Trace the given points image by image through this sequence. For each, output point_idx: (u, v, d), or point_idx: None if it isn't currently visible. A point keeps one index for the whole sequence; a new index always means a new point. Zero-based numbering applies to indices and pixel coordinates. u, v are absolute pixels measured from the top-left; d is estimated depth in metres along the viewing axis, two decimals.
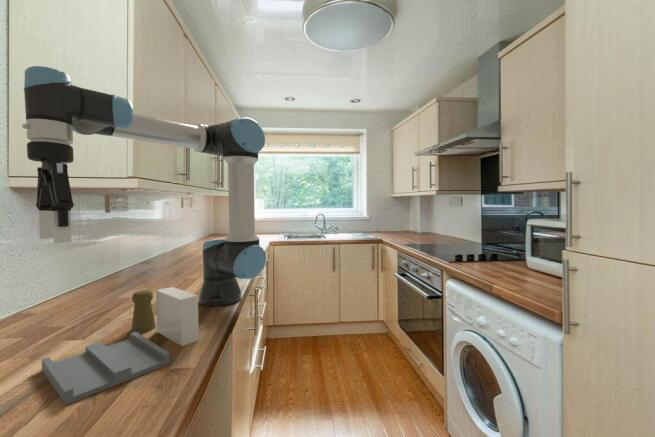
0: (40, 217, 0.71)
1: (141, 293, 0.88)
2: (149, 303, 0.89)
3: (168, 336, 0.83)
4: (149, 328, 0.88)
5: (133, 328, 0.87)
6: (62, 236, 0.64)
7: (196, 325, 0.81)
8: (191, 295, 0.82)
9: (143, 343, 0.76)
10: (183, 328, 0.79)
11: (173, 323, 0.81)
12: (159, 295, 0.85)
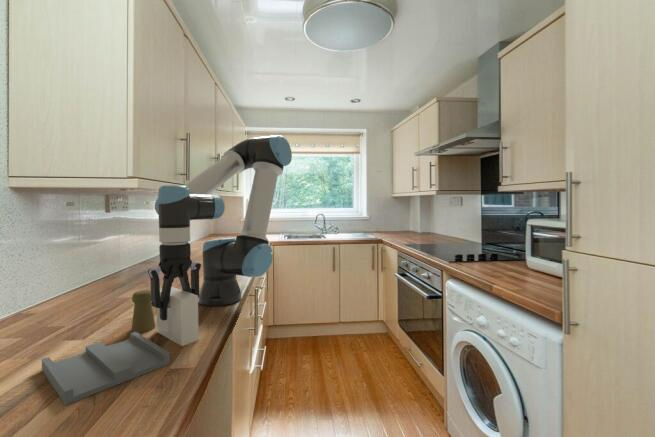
0: None
1: (141, 293, 0.88)
2: (149, 303, 0.89)
3: (168, 336, 0.83)
4: (149, 328, 0.88)
5: (133, 328, 0.87)
6: (165, 326, 0.82)
7: (196, 325, 0.81)
8: (191, 295, 0.82)
9: (143, 343, 0.76)
10: (183, 328, 0.79)
11: (173, 323, 0.81)
12: None
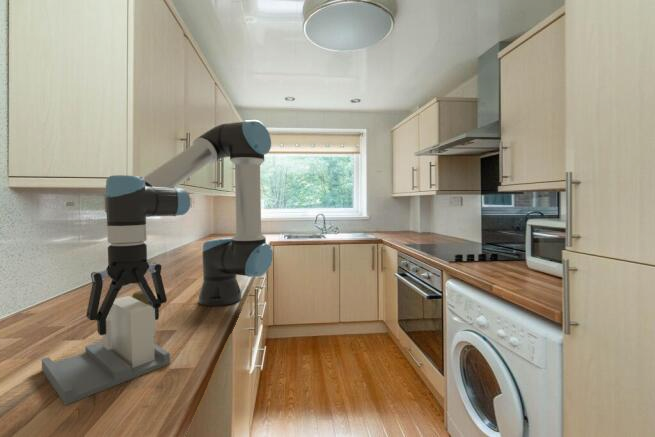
0: None
1: (141, 293, 0.88)
2: (149, 303, 0.89)
3: (119, 355, 0.71)
4: None
5: None
6: (105, 342, 0.68)
7: (151, 342, 0.69)
8: (145, 307, 0.69)
9: None
10: (134, 346, 0.66)
11: (124, 340, 0.68)
12: None
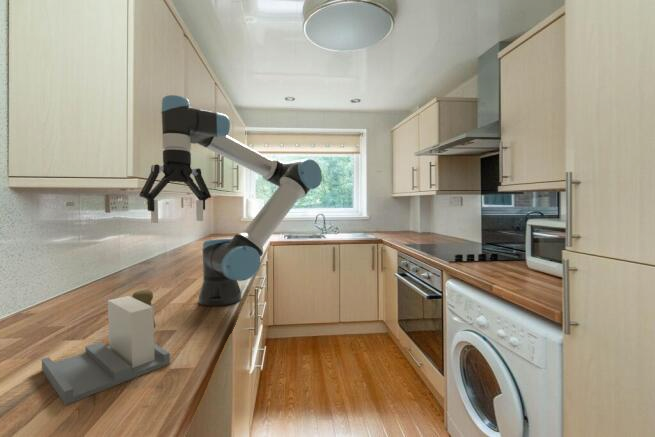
0: (196, 204, 0.99)
1: (141, 293, 0.88)
2: (149, 303, 0.89)
3: (119, 355, 0.71)
4: None
5: None
6: (153, 218, 0.87)
7: (151, 342, 0.69)
8: (145, 307, 0.69)
9: None
10: (134, 346, 0.66)
11: (124, 340, 0.68)
12: (110, 306, 0.73)
